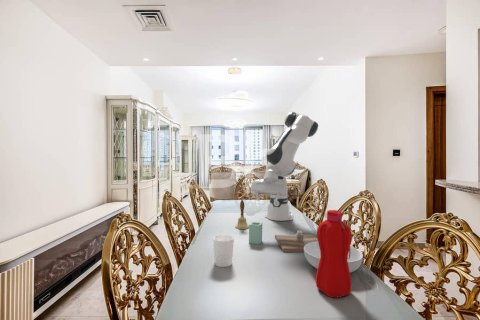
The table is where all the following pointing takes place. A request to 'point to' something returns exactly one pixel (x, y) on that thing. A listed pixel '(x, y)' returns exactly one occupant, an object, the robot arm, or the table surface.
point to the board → (294, 242)
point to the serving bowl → (314, 256)
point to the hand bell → (242, 218)
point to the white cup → (223, 250)
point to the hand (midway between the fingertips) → (266, 200)
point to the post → (299, 236)
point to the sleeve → (255, 233)
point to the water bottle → (334, 255)
